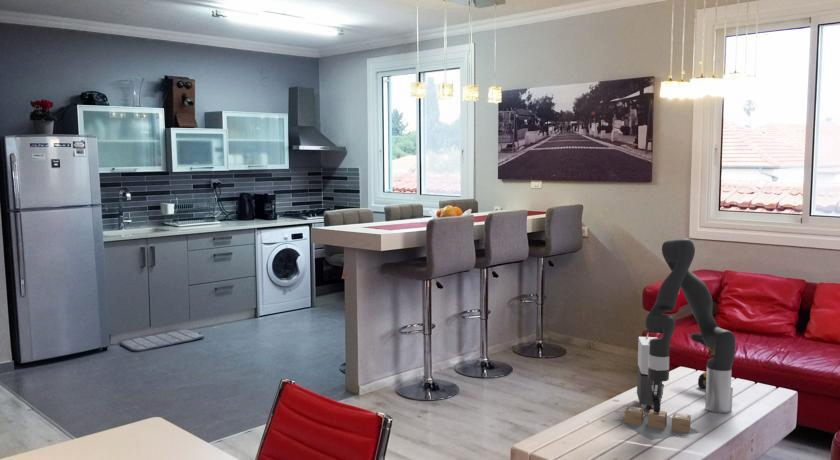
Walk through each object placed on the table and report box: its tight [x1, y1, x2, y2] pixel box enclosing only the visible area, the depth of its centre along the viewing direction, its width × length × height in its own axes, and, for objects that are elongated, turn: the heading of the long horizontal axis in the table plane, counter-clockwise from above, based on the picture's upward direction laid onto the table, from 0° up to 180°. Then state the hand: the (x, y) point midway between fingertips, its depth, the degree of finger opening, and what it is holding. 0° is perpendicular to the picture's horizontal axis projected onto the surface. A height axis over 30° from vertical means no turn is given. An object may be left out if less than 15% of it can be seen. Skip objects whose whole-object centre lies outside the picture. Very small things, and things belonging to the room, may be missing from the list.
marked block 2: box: [671, 412, 692, 433], centre depth 271 cm, size 6×6×5 cm
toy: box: [636, 331, 658, 410], centre depth 298 cm, size 15×7×30 cm, turn 168°
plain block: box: [647, 409, 668, 430], centre depth 274 cm, size 6×6×5 cm
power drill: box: [689, 332, 715, 390], centre depth 324 cm, size 8×21×25 cm, turn 32°
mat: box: [615, 414, 702, 441], centre depth 275 cm, size 22×22×1 cm
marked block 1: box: [624, 405, 645, 426], centre depth 278 cm, size 6×6×5 cm
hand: (656, 411), depth 274 cm, fingers closed
